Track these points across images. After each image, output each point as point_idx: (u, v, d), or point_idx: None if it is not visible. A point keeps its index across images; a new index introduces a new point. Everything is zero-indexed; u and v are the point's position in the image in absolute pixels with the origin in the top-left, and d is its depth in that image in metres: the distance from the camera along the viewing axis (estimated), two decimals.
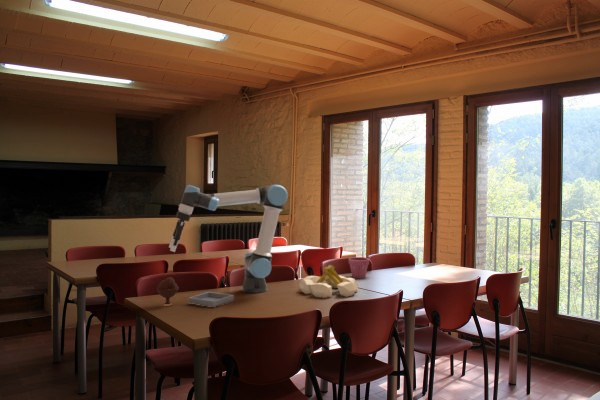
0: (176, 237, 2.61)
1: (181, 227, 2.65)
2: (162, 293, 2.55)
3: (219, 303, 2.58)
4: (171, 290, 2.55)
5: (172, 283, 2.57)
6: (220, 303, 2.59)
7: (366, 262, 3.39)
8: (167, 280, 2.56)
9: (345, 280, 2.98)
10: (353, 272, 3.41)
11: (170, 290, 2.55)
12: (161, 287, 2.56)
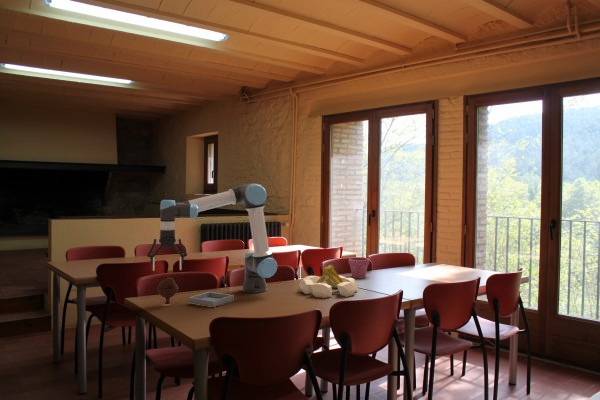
0: None
1: (181, 243, 2.61)
2: (162, 293, 2.55)
3: (219, 303, 2.58)
4: (171, 290, 2.55)
5: (172, 283, 2.57)
6: (220, 303, 2.59)
7: (366, 262, 3.39)
8: (167, 280, 2.56)
9: (345, 280, 2.98)
10: (353, 272, 3.41)
11: (170, 290, 2.55)
12: (161, 287, 2.56)
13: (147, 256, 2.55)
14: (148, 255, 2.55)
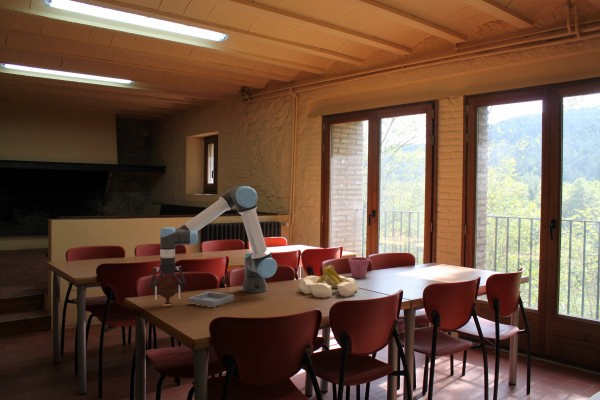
0: (185, 283, 2.61)
1: (181, 271, 2.62)
2: (162, 293, 2.55)
3: (219, 303, 2.58)
4: (171, 290, 2.55)
5: (172, 283, 2.57)
6: (220, 303, 2.59)
7: (366, 262, 3.39)
8: (167, 280, 2.56)
9: (345, 280, 2.98)
10: (353, 272, 3.41)
11: (170, 290, 2.55)
12: (161, 287, 2.56)
13: (149, 285, 2.56)
14: (150, 284, 2.56)
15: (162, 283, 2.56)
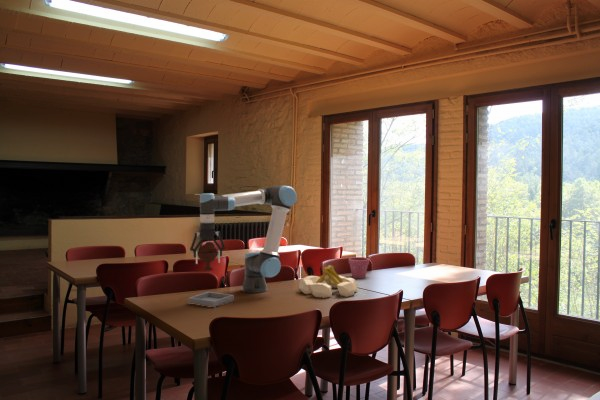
0: None
1: (220, 236, 2.67)
2: (203, 257, 2.60)
3: (219, 303, 2.58)
4: (212, 254, 2.60)
5: (212, 247, 2.62)
6: (220, 303, 2.59)
7: (366, 262, 3.39)
8: (207, 244, 2.61)
9: (345, 280, 2.98)
10: (353, 272, 3.41)
11: (211, 254, 2.60)
12: (202, 251, 2.61)
13: None
14: (191, 249, 2.61)
15: (203, 247, 2.62)
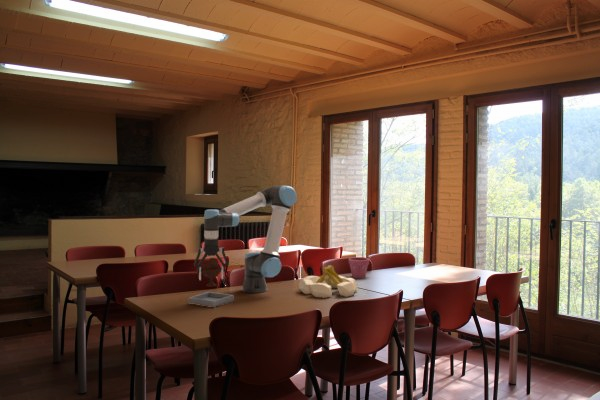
0: (228, 264, 2.67)
1: (224, 253, 2.68)
2: (206, 273, 2.61)
3: (219, 303, 2.58)
4: (215, 270, 2.61)
5: (216, 264, 2.63)
6: (220, 303, 2.59)
7: (366, 262, 3.39)
8: (211, 261, 2.62)
9: (345, 280, 2.98)
10: (353, 272, 3.41)
11: (214, 270, 2.61)
12: (205, 267, 2.61)
13: None
14: (195, 265, 2.62)
15: (206, 263, 2.62)
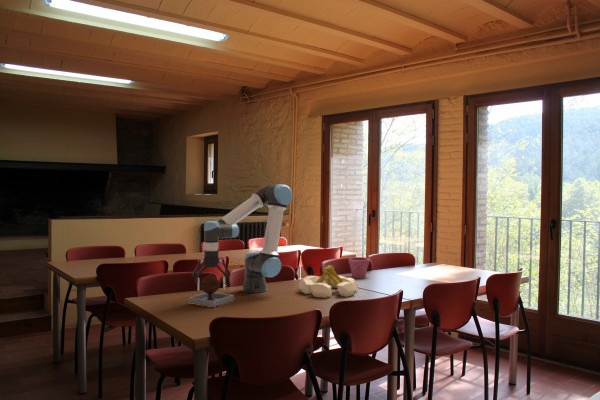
0: None
1: None
2: (205, 289, 2.61)
3: (219, 303, 2.58)
4: (214, 286, 2.61)
5: (215, 279, 2.63)
6: (220, 303, 2.59)
7: (366, 262, 3.39)
8: (210, 276, 2.62)
9: (345, 280, 2.98)
10: (353, 272, 3.41)
11: (213, 286, 2.61)
12: (204, 283, 2.62)
13: (192, 276, 2.62)
14: (193, 275, 2.62)
15: (205, 279, 2.62)
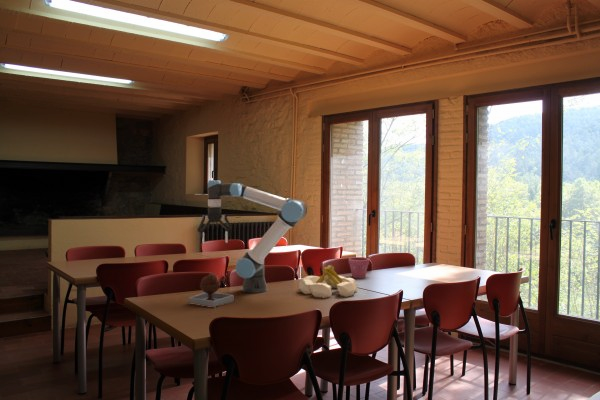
0: None
1: None
2: (205, 289, 2.61)
3: (219, 303, 2.58)
4: (214, 286, 2.61)
5: (215, 279, 2.63)
6: (220, 303, 2.59)
7: (366, 262, 3.39)
8: (210, 276, 2.62)
9: (345, 280, 2.98)
10: (353, 272, 3.41)
11: (213, 286, 2.61)
12: (204, 283, 2.62)
13: (198, 231, 2.83)
14: (199, 230, 2.83)
15: (205, 279, 2.62)
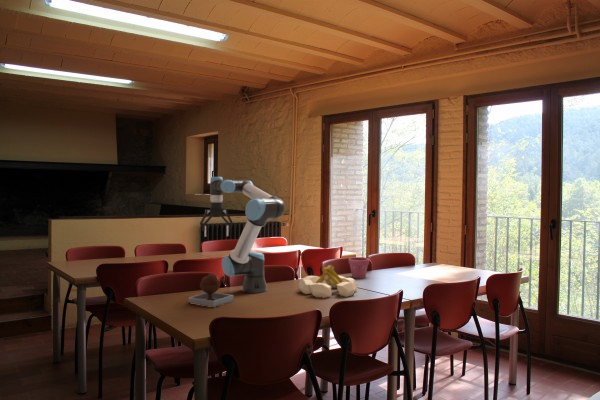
0: None
1: (228, 214, 3.07)
2: (205, 289, 2.61)
3: (219, 303, 2.58)
4: (214, 286, 2.61)
5: (215, 279, 2.63)
6: (220, 303, 2.59)
7: (366, 262, 3.39)
8: (210, 276, 2.62)
9: (344, 280, 2.98)
10: (353, 272, 3.41)
11: (213, 286, 2.61)
12: (204, 283, 2.62)
13: (200, 224, 3.01)
14: (201, 223, 3.01)
15: (205, 279, 2.62)
